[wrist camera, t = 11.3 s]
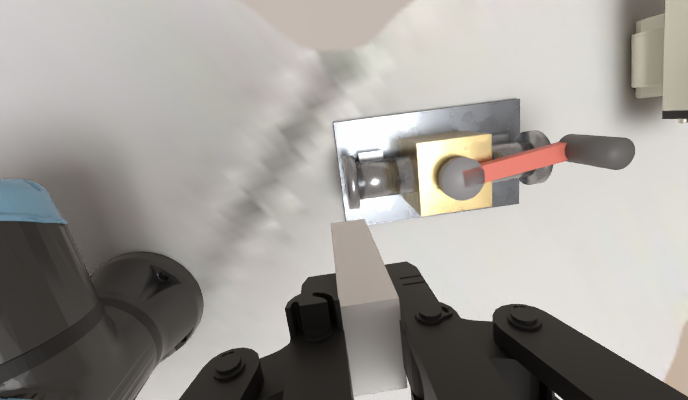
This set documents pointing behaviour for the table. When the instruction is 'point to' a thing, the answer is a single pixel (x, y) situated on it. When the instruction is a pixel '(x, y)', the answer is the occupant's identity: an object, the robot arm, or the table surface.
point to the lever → (534, 162)
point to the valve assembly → (429, 160)
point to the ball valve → (663, 59)
